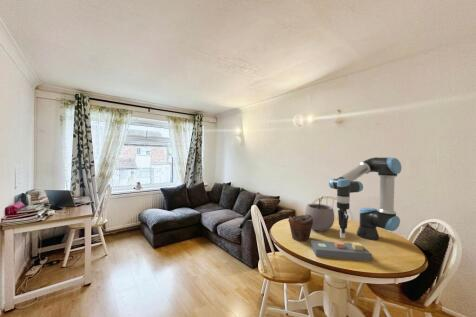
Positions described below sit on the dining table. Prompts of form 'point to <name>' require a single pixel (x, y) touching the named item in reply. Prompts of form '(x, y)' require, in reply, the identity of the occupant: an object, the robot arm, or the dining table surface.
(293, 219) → the brown tapered container
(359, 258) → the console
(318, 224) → the plant pot
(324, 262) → the dining table surface
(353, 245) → the ochre button
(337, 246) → the terracotta button
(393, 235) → the dining table surface
